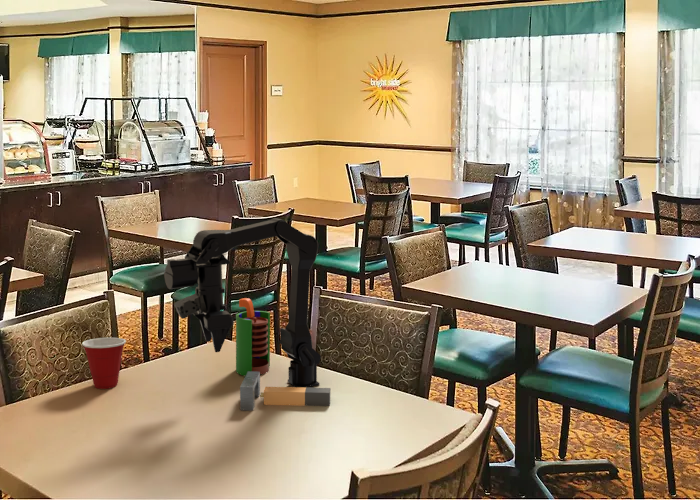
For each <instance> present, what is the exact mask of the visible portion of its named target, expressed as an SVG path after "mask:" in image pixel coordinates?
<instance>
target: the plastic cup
mask: <svg viewBox="0 0 700 500" xmlns="http://www.w3.org/2000/svg"><path fill="white" fill-rule="evenodd" d="M126 342H127V339H124V338H119V337H97V338H92V339H87V340H84V341H83V342H82V343H81V344H82V346H83V348H84V351H85V355H86V357H87V363H88V368H89V371H90V376H91V379H92V382H93V386H94V388H95V389H99V390H100V389H101V390H105V389H113V388H115V387H116V386H118V383H119V377H120V370H121V364H122V356H123V351H124V346H125V344H126Z"/></svg>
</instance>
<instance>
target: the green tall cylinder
mask: <svg viewBox="0 0 700 500" xmlns="http://www.w3.org/2000/svg"><path fill="white" fill-rule="evenodd" d="M238 301H239V302H238V307H239V308H245V309H246V311H241V312H238V313H236V314H235V372H236V373H237V374H238V375H239V376H244V377H245V376H246V374H247V372H248V371H254V372H260V374H261V375H265V374H267V373H269V372H270V371H269V369H270V367H269V366H270V365H271V363H270V361H271V358H270V357H271V356H270V355H271V312H269V311H266V310H265V311H264V310H254V304H253V301H252V299H250V298H249V297H248V298H247V297H244V298H243V297H242V298H240V299H239V300H238ZM266 372H267V373H266ZM264 373H265V374H264Z"/></svg>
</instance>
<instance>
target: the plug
mask: <svg viewBox="0 0 700 500" xmlns="http://www.w3.org/2000/svg"><path fill="white" fill-rule="evenodd" d="M259 398H263V405H265V406H301V407H303V406H304V407H305V406H306V407H307V406H308V407H330V405H331V387H294V386H265V388H264V389H263V392H261V391H260V395H259Z"/></svg>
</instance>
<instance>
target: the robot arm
mask: <svg viewBox="0 0 700 500" xmlns="http://www.w3.org/2000/svg"><path fill="white" fill-rule="evenodd" d="M193 237H194V238H193V241H192V243H193V244H192V245H191V246H190V248H189V249H188V251H187V253H186V254H185V256H184V258H178V259H174V258H173V259H172V258H171V259H167V261H166V263H167V264H166V265H165V271H164V272H163V274H164V282H165V285H166V288H167V289H169V290H176V289H183V288H189V287H194V286H195V284H197V286H196V287H195V290H194V294H191V295H188V296H186V297H183V298H181V299H179V300H177V301H175V302H174V303H173V305H174V307H175V309H176V312H177V314H178V316H179V317H180V318H181V319H186V318H189V316H191V315H193V316H195V318H197V319H198V320H199V323H200V325H201V326H200V327H201V329H202V332H203V336H204V339H205V343H206V342H207V343H210V342H211V341H212V345H213V349H214V352H215V353H220V352H221V350H222V348H223V345H224V342H225V340H226V339H227V336H228V334H229V333H230V331H231V329H232V327H234V321H235V320H234V316H233V315H232V314H231V313H229V311H227V310H226V305H225V304H224V294H225V292H226V291H225V290H226V289H225V288H224V287H223V266H224V265H229V264H231V260H229V259H228V258H227V257H226V256H225V254H226V253H228V252H230V251H231V250H233V249H234V248H236V247H238V246H242V245H248V244H250V243H255V242H258V241H259V242H260V241H262V240H267V239H270V238H271V239H272V238H273V237H276V238H277V239H278V240H279V241H280V242H282V243H283V244H285V245H286V254H287V255H286V256H287V258H288V262H289V264H290V266H291V267H290V268H291V272H290V273H291V274H290V291H289V292H290V293H289V310H288V311H289V312H288V323H287V324H286V326H285V327H281V328H279V329H280V330H279V334H280V338H279V340H278V343H279V344H280V347H281V350H282V351H283V352H284V353H286V355H287V357H288V359H291V360H290V361H289V366H288V379H287V383H289V384H290V385H292V387H307V388H311V387H315V386H320V382H319V381H318V374H317V372H318V371H317V370H318V369H317V368H318V367H317V366H318V365H319V364H320V361H321V359H322V355H321V354H319V353H318V352H317V350H315V349H314V348H313V341H312V339H313V338H312V334H311V330H310V328H309V325H308V316H309V314H308V313H309V299H310V297H309V296H310V281H311V269H312V267H313V265H314V263H315V262H316V260H317V256H318V252H319V251H318V250H319V242H318V240H317V239H316V238H315V236H313V235H310V234H307V233H304V232H302V231H301V230H298V229H297V228H296V227H294V226H292V225H290V224H289V223H288V222H287V221H286V220H285V219H281V218H277V217H274V218H271V219H269V220H268V219H267V220H264V221H261V222H257V223H252V224H248V225H243V226H240V227H236V228H235V227H234V228H232V229H203V230H200V231H198V232H197V233H196V234H195V236H193Z"/></svg>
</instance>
